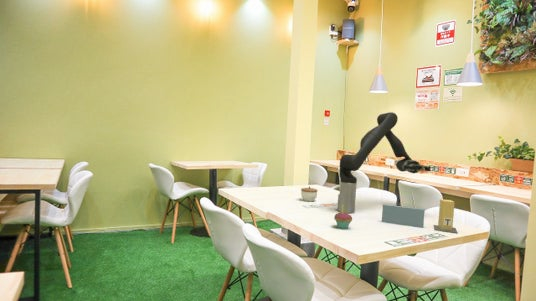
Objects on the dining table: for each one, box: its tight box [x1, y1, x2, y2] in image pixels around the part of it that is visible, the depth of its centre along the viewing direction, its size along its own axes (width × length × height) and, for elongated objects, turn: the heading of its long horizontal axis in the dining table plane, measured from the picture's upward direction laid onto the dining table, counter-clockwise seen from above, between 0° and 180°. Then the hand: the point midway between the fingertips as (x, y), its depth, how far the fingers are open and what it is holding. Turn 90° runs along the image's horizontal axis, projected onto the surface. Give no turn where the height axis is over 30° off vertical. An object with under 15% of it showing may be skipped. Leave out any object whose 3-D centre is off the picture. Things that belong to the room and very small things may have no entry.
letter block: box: [437, 198, 456, 230], centre depth 174 cm, size 5×5×14 cm
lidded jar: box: [300, 186, 318, 203], centre depth 232 cm, size 11×11×9 cm
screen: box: [381, 204, 426, 229], centre depth 181 cm, size 20×2×9 cm, turn 67°
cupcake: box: [333, 203, 353, 230], centre depth 168 cm, size 9×8×12 cm
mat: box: [433, 224, 458, 234], centre depth 175 cm, size 10×10×1 cm
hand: (420, 168), depth 195 cm, fingers open, 8 cm apart
